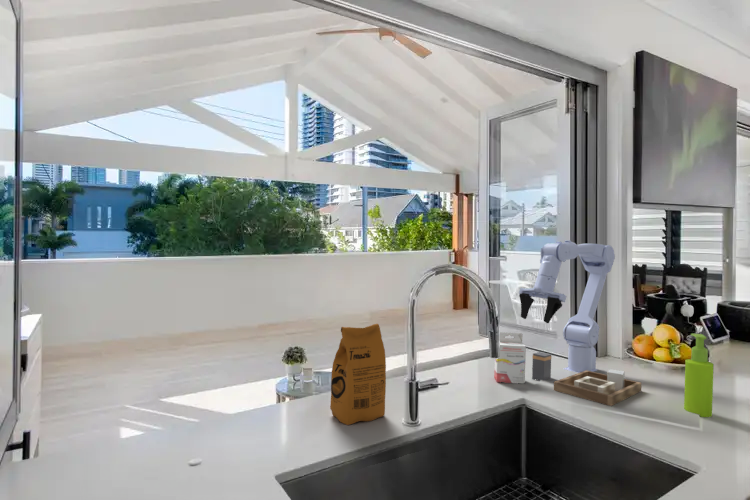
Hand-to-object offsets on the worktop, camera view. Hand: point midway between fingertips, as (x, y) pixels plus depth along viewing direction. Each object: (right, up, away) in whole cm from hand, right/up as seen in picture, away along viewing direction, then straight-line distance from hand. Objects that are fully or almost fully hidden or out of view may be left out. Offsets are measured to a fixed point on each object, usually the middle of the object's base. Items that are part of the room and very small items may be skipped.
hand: (534, 320), depth 139 cm
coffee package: (-53, -19, -28) cm, 63 cm away
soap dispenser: (+34, -21, -21) cm, 45 cm away
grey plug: (+22, -19, -5) cm, 30 cm away
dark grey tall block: (+4, -20, +5) cm, 21 cm away
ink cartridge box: (-7, -20, +3) cm, 21 cm away
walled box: (+16, -20, -7) cm, 26 cm away
